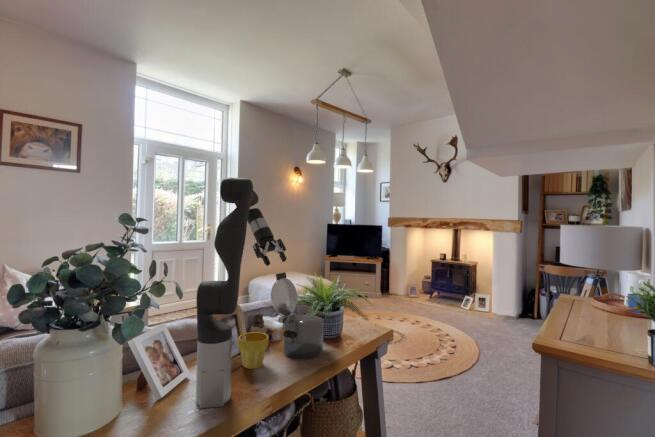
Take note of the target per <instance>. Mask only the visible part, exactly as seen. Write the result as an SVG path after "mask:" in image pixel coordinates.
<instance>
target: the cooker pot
mask: <svg viewBox="0 0 655 437" xmlns="http://www.w3.org/2000/svg"><path fill="white" fill-rule="evenodd" d="M277 320H278V323H281V324H283V325H284V327H283V354H284V355H285V356H287V357H288V358H291V359H293V360H294V359H295V360H311V359H316V358H318V357H320V356H322V355H323V351H324V347H323V346H324V319H323V318H322V317H320V316H319V315H312V314H296V313H294V312H292V313H291V314H290V315H287V317H286V316H282V315H280V316H278V319H277Z"/></svg>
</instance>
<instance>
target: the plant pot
mask: <svg viewBox="0 0 655 437" xmlns="http://www.w3.org/2000/svg"><path fill="white" fill-rule="evenodd" d="M244 334H245V336H246V341H242V334H240V335H239V336H238V339H237V340H238V341H237V346H238V349H239V351H240V355H241V356H242V357H241V362H242V366H243V367H244V368H246V369H248V370H249V369H250V370H253V369H258V368H260V367H262V366H263V364H264V359H265V354H266V350H267V348H268V347H269V339H270V338H269V335H268V334H267V333H266V334H265V333H260V332H250V331H249V332H244Z"/></svg>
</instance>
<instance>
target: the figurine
mask: <svg viewBox="0 0 655 437" xmlns="http://www.w3.org/2000/svg"><path fill="white" fill-rule="evenodd" d="M263 316H264V314H262V313H260V312H257V313H256V314H254V315H253V317H252V322H251V324H250V326H251V327H250V328H249V333H250V332H260V333H265V334H267V331H266V325H265V321H264V318H263Z"/></svg>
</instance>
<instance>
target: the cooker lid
mask: <svg viewBox="0 0 655 437" xmlns="http://www.w3.org/2000/svg"><path fill="white" fill-rule="evenodd" d="M286 273H287V272H285V271H283V272H279V273H275V278H276V281H275V282H274V283H273V285H272V287H271V290H270V300H271V302H270V303H271V305H272V308H273V309H274V311H275V312H276V313H277V315H280V316H283V317H286V316H288V315H290V314H291V313H294V311H295V310H296V308H297V305H298V304H297V303H298V293H297V288H296V286H295V285H294V283H293V281H291V279H288V278H287V274H286Z"/></svg>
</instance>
